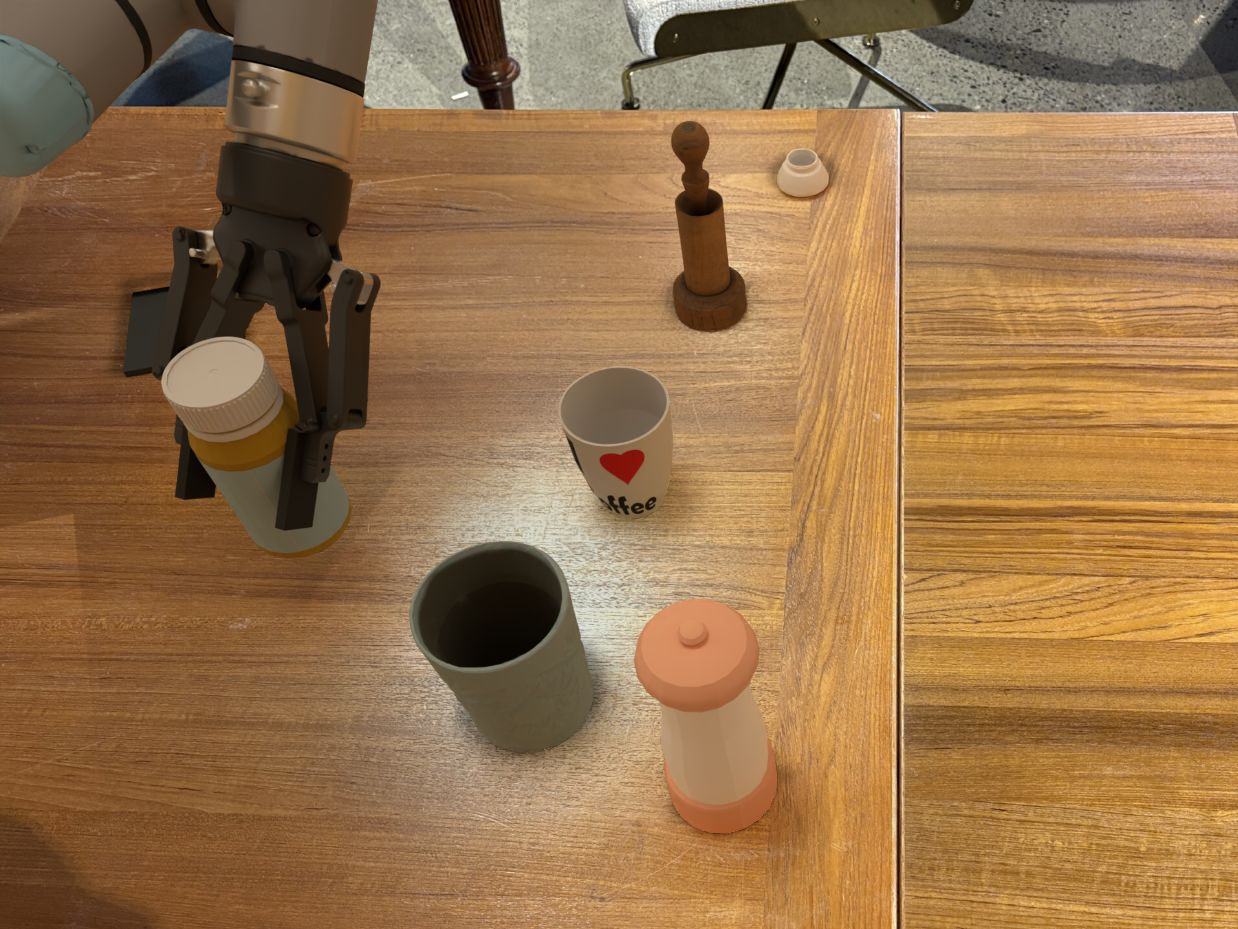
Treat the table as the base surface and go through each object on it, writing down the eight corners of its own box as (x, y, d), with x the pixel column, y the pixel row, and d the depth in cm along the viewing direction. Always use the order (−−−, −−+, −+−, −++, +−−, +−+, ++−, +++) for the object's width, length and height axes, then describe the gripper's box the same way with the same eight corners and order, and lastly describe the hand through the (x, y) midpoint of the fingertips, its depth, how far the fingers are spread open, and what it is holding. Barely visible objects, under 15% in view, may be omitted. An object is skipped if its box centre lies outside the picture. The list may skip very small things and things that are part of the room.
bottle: (263, 577, 83) (160, 427, 70) (248, 505, 86) (147, 351, 74) (363, 544, 84) (280, 392, 72) (344, 475, 88) (262, 319, 75)
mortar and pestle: (761, 312, 107) (746, 132, 92) (699, 342, 105) (673, 162, 90) (722, 272, 110) (702, 91, 95) (661, 300, 108) (630, 120, 93)
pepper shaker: (686, 729, 83) (646, 564, 67) (788, 747, 82) (771, 584, 66) (657, 823, 79) (606, 672, 63) (763, 843, 78) (739, 695, 63)
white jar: (768, 192, 117) (815, 205, 115) (767, 166, 114) (814, 179, 113) (791, 163, 119) (837, 176, 118) (790, 137, 117) (836, 149, 115)
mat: (126, 376, 104) (122, 371, 103) (136, 294, 110) (132, 289, 110) (244, 355, 105) (241, 350, 105) (247, 275, 111) (244, 270, 111)
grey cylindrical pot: (561, 781, 81) (520, 691, 71) (432, 737, 83) (375, 643, 73) (626, 662, 86) (596, 562, 77) (503, 623, 89) (458, 522, 79)
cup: (566, 518, 94) (538, 430, 86) (611, 445, 98) (588, 355, 90) (659, 545, 92) (640, 458, 84) (701, 470, 97) (687, 380, 88)
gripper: (107, 107, 72) (72, 476, 77) (393, 174, 68) (337, 558, 73) (200, 135, 80) (162, 472, 85) (464, 197, 76) (408, 546, 81)
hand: (243, 511), depth 79 cm, fingers closed on bottle, 7 cm apart
